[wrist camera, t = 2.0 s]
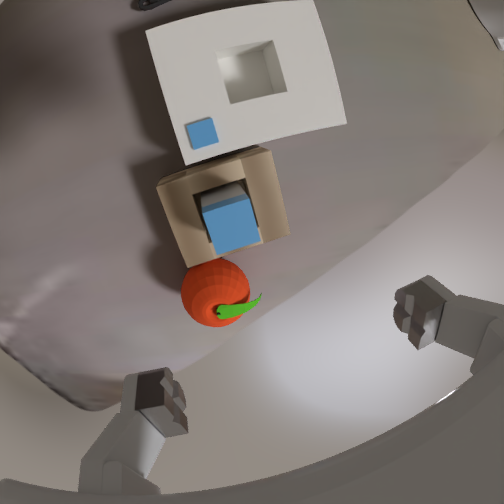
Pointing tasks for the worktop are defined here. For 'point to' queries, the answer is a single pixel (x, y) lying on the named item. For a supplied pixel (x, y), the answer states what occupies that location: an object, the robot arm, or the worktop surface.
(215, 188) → the plug
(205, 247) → the holster
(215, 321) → the clementine
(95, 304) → the worktop surface
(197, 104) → the port
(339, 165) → the worktop surface
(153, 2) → the walkie-talkie
